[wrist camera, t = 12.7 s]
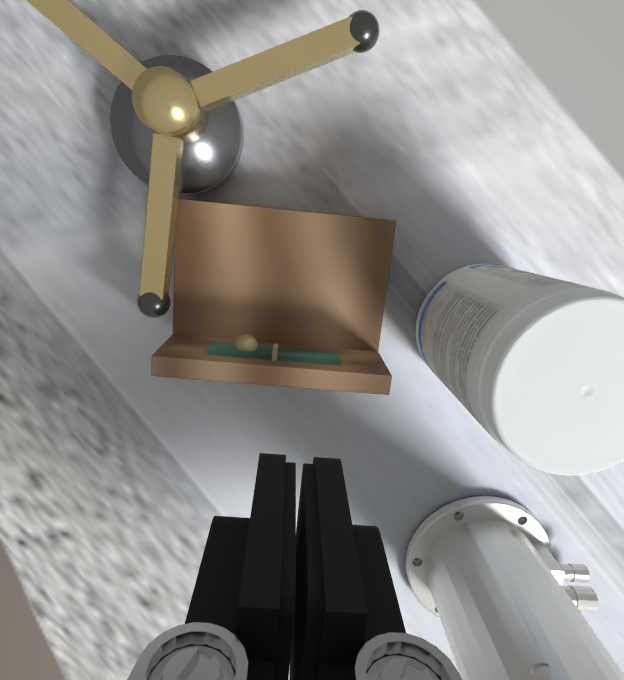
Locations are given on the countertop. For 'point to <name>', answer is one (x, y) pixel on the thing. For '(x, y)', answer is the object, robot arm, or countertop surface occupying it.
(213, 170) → the tan branched rod piece
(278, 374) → the level stand
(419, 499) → the countertop surface
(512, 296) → the supplement tub
